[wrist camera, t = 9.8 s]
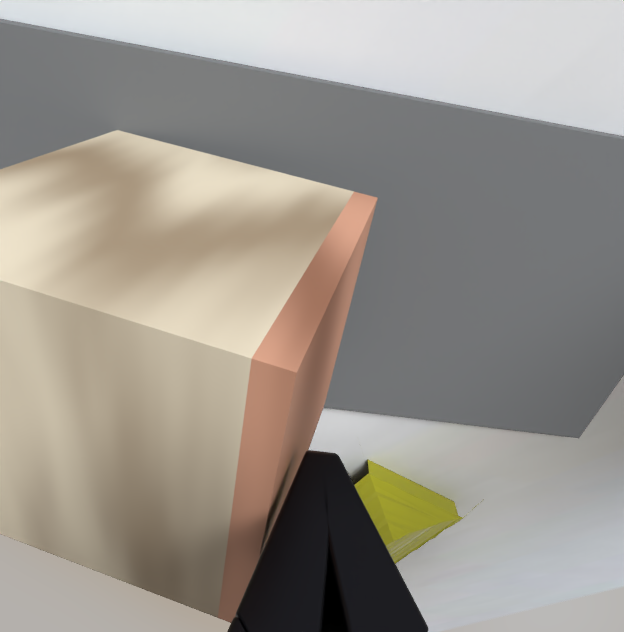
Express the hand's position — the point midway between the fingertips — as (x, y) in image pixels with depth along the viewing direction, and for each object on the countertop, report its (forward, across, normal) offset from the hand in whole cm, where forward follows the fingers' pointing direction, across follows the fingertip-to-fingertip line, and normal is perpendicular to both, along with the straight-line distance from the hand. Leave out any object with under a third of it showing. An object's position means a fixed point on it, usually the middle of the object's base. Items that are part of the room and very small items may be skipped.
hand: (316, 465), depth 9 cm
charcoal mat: (+8, +1, 0) cm, 8 cm away
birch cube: (+2, 0, 0) cm, 2 cm away
